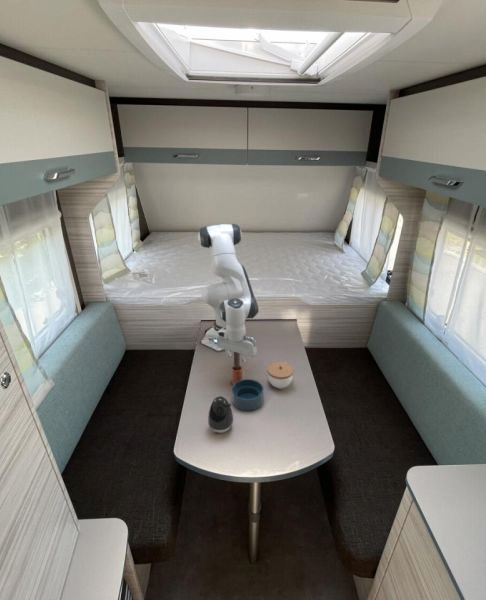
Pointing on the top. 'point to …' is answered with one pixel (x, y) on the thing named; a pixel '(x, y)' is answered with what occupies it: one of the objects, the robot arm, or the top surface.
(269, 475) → the top surface
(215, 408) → the black rounded egg shape
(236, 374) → the pot
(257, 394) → the mixing bowl
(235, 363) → the stirring stick
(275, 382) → the lidded bowl
